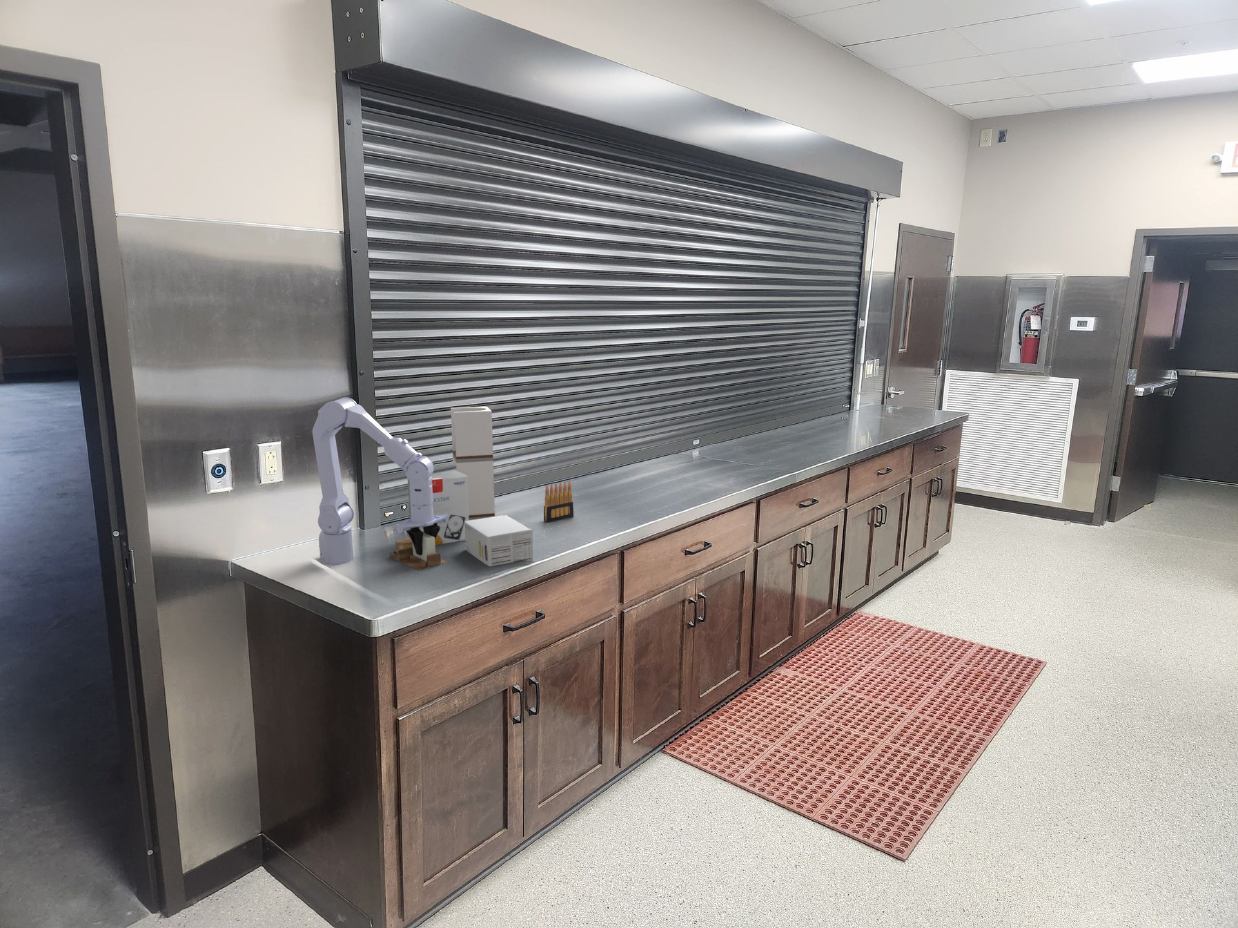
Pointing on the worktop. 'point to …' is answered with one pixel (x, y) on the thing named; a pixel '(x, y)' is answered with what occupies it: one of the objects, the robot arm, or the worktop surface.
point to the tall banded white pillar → (475, 457)
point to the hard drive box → (449, 505)
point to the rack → (416, 559)
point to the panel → (426, 547)
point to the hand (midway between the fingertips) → (424, 553)
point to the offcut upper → (404, 543)
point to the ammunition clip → (558, 503)
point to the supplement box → (498, 540)
